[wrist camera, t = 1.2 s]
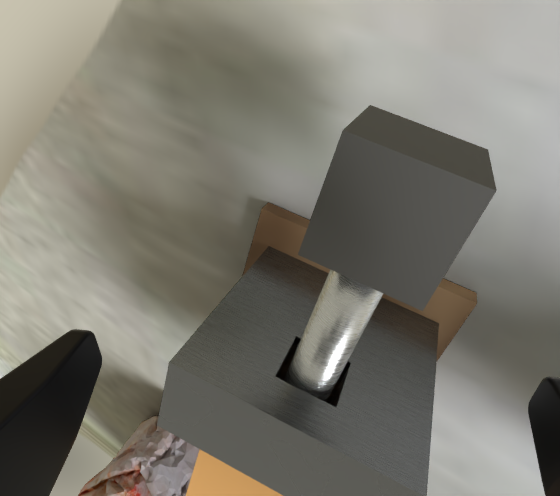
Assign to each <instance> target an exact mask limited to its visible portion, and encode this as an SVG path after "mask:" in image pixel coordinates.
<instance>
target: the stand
mask: <svg viewBox="0 0 560 496" xmlns="http://www.w3.org/2000/svg"><path fill="white" fill-rule="evenodd" d="M309 222H310V220H308V219H306V218H303V217H301V216H299V215H296V214H294V213H292V212H290V211H287V210H285V209H283V208H280V207H278V206H276V205H274V204H271V203H269V202H268V203H267V204H266V205H265V206H264V207H263V208H262V209H261V213H260V216H259V220H258V223H257V227H256V230H255V234H254V237H253V241H252V244H251V248H250V251H249V254H248V258H247V261H246V265H245V268H244V272H243V275H242V278H241V279H240V280H239V281H238V282H237V284H236V285H235V286H234V287H233V288H232V289H231V291H230V292H229V293H228V294H227V295H226V297H225V298H224V299H223V300H222V301H221V302H220V304H219V305H218V306H217V307H216V308H215V309H214V311H213V312H212V313H211V314H210V315H209V316H208V318H207V319H206V320H205V321H204V322H203V323H202V325H201V326H200V327H199V328H198V329H197V330H196V332H195V333H194V334H193V335H192V336H191V337H190V339H189V340H188V341H187V342H186V343H185V344H184V346H183V347H182V348H181V349H180V350H179V351H178V353H177V354H176V355H175V356H174V357H173V358H172V360H171V361H170V362H169V366H168V371H167V376H166V381H165V386H164V391H163V396H162V401H161V406H160V412H159V417H158V422H157V426H159V427H161V428H163V429H164V430H166V431H168V432H170V433H172V434H173V435H175V436H177V437H179V438H181V439H182V440H184V441H186V442H188V443H190V444H191V445H193V446H195V447H197V448H199V449H200V450H202V451H204V452H206V453H208V454H209V455H211V456H213V457H215V458H217V459H218V460H220V461H222V462H224V463H226V464H227V465H229V466H231V467H233V468H234V469H236V470H238V471H240V472H242V473H243V474H245V475H247V476H249V477H251V478H252V479H254V480H256V481H258V482H260V483H261V484H263V485H265V486H267V487H269V488H270V489H272V490H274V491H276V492H278V493H279V494H281V495H283V496H427V483H428V469H429V456H430V442H431V428H432V414H433V400H434V387H435V373H436V362H437V360H438V359H439V358H440V356H441V355H442V353H443V352H444V350H445V349H446V347H447V346H448V345H449V343H450V342H451V340H452V339H453V337H454V336H455V334H456V333H457V332H458V330H459V329H460V327H461V326H462V324H463V323H464V322H465V320H466V319H467V317H468V316H469V314H470V313H471V311H472V310H473V309H474V307H475V306H476V304H477V294H476V293H475V292H473V291H471V290H469V289H466V288H464V287H462V286H459V285H457V284H455V283H452V282H450V281H448V280H446V279H442V281H441V282H440V284H439V285H438V287H437V289H436V290H435V292H434V294H433V295H432V297H431V299H430V300H429V302H428V303H427V305H426V307H425V308H424V310H423V311H421V310H419V309H416V308H414V307H412V306H410V305H408V304H405V303H403V302H401V301H399V300H397V299H394V298H392V297H390V296H388V295H386V294H383V295H382V297H381V299H380V301H379V303H378V305H377V307H376V309H375V310H374V312H373V314H372V316H371V318H370V320H369V322H368V324H367V326H366V327H365V329H364V331H363V333H362V335H361V337H360V339H359V341H358V343H357V344H356V346H355V348H354V350H353V352H352V354H351V356H350V358H349V360H348V361H347V363H346V365H345V367H344V369H343V371H342V373H341V375H340V377H339V379H338V380H337V382H336V384H335V386H334V388H333V390H332V392H331V394H330V396H329V397H328V399H327V401H326V402H324V401H322V400H320V399H319V398H317V397H315V396H313V395H311V394H309V393H307V392H305V391H303V390H301V389H299V388H297V387H295V386H293V385H291V384H289V383H287V382H285V381H283V380H284V378H285V376H286V373H287V371H288V368H289V366H290V364H291V361H292V359H293V357H294V354H295V352H296V350H297V347H298V345H299V343H300V340H301V338H302V335H303V333H304V331H305V328H306V326H307V324H308V321H309V319H310V317H311V314H312V312H313V310H314V307H315V305H316V302H317V300H318V298H319V295H320V293H321V291H322V288H323V286H324V284H325V281H326V279H327V277H328V274H329V272H330V269H328V268H326V267H324V266H321V265H319V264H317V263H315V262H313V261H310V260H308V259H306V258H304V257H302V256H299V255H298V252H299V250H300V247H301V244H302V241H303V239H304V236H305V233H306V230H307V228H308V225H309Z"/></svg>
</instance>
